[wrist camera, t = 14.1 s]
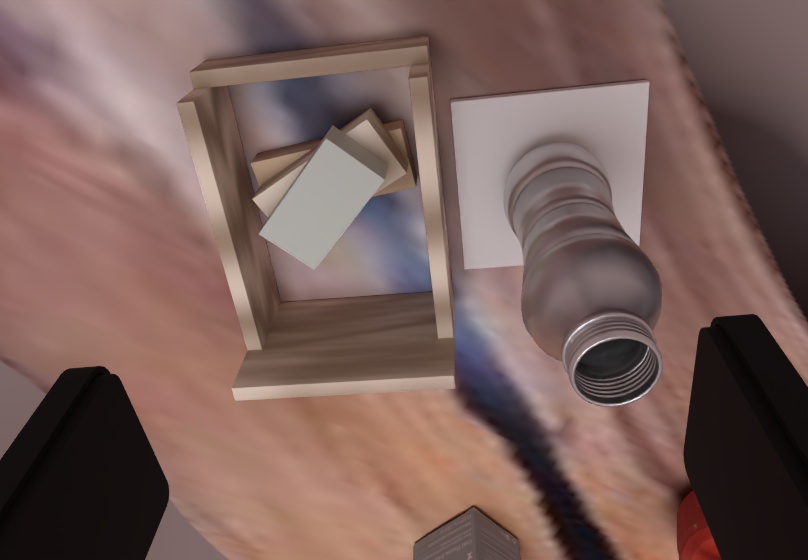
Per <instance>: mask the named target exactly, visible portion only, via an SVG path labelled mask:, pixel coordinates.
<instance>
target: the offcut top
mask: <svg viewBox="0 0 808 560" xmlns="http://www.w3.org/2000/svg"><path fill="white" fill-rule="evenodd" d="M387 168H388V164H386V163H385V162H383V161H382V160H381V159H379V158H378V157H376V156H375V155H374V154H372V153H371V152H370V151H368V150H367V149H365V148H364V147H363V146H361V145H360V144H358V143H357V142H356V141H354V140H353V139H351V138H350V137H349V136H347V135H346V134H344V133H343V132H342V131H340V130H339V129H337V128H336V127H335V126H333V125H332V127H331V128H330V130H329V131H328V132H327V134H326V135H325V137H324V138H323V140H322V141H321V142H320V144H319V145H318V147H317V148H316V150H315V151H314V152H313V154H312V155H311V157H310V158H309V160H308V161H307V162H306V164H305V165H304V167H303V168H302V170H301V171H300V172H299V174H298V175H297V177H296V178H295V180H294V181H293V182H292V184H291V185H290V187H289V188H288V190H287V191H286V192H285V194H284V195H283V197H282V198H281V200H280V201H279V202H278V204H277V205H276V207H275V208H274V209H273V211H272V212H271V214H270V215H269V217H268V218H267V220H266V222H265V224H264V225H263V227H262V229H261V231H260V233H259V235H261V236H262V237H264V238H265V239H267V240H268V241H270V242H271V243H273V244H275V245H276V246H278V247H279V248H281V249H282V250H284V251H285V252H287V253H289V254H290V255H292V256H293V257H295V258H296V259H298V260H299V261H301V262H302V263H304V264H306V265H307V266H309V267H310V268H312V269H313V270H315V269H316V267H317V266H318V265H319V264H320V262H321V261H322V260H323V258H324V257H325V256H326V255H327V253H328V252H329V251H330V249H331V248H332V247H333V246H334V244H335V243H336V242H337V240H338V239H339V238H340V237H341V235H342V234H343V233H344V231H345V230H346V229H347V228H348V226H349V225H350V224H351V222H352V221H353V220H354V219H355V217H356V216H357V215H358V214H359V212H360V211H361V210H362V208H363V207H364V206H365V205H366V203H367V202H368V201H369V199H370V198H371V197H372V196H373V194H374V193H375V192H376V190H377V189H378V188H379V187H380V185H381V184H382V183H383V181H384V180H385V177H386V172H387Z"/></svg>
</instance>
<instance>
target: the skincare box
mask: <svg viewBox="0 0 808 560" xmlns="http://www.w3.org/2000/svg"><path fill="white" fill-rule="evenodd" d="M413 560H521V557H520V548H519V541H518V540H517V539H516V538H515V537H513V536H512V535H511V534H509V533H508V532H507V531H505V530H504V529H502V528H501V527H499V526H498V525H496V524H495V523H494V522H492V521H491V520H490V519H489V518H487V517H486V516H484V515H483V514H482V513H481V512H479V511H478V510H477V509H476V508H474V507H473V508H471V509H469V510H468V511H467V512H466V513H464V514H462V515H461V516H459V517H458V518H456V519H455V520H453V521H451V522H449V523H448V524H446V525H444V526H442V527H441V528H439V529H437V530H436V531H434V532H432V533H431V534H429V535H428V536H426V537H425V538H423V539H422V540H420V541H419V542H417V543H416V544H415V545H414V554H413Z"/></svg>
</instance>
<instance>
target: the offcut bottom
mask: <svg viewBox="0 0 808 560" xmlns="http://www.w3.org/2000/svg"><path fill="white" fill-rule="evenodd" d="M383 125H384V126H385V127H386V129H387V130H388V132H389V133H390V134H391V136H392V137H393V138H394V140H395V141H396V143H397V144H398V145H399V147H400V148H401V149H402V151H403V152H404V154H405V155H406V156H407V158H408V159H409V161H408V167H407V173H406V174H405V175H403V176H402V177H400V178H399V179H397V180H395V181H394V182H392V183H391V184H389V185H388V186H386V187H385V188H383V189H382V190H380V191H378V192H377V193H375V194H374V195H373V196H378V195H383V194H387V193H392V192H396V191H401V190H406V189H410V188H415V187H416V183H417V174H416V170H415V166H414V162H413V158H412V154H411V150H410V147H409V143H408V139H407V135H406V131H405V127H404V123H403V120H398V121H393V122H389V123H385V124H383ZM322 140H323V138H321V139H316V140H312V141H308V142H304V143H299V144H295V145H291V146H287V147H282V148H278V149H274V150H270V151H265V152H261V153H258V154H257V155H256V156H255V158H254V159H253V161H252V162H251V166H252V168H253V171H254V173H255V176H256V179H257V181H258V184H259V187H260V186H261V185H262V184H263V183H264V182H266V181H267V180H269V179H270V178H272V177H273V176H274V175H276V174H277V173H279V172H280V171H282V170H283V169H284V168H286V167H287V166H289V165H290V164H291V163H293V162H294V161H296V160H297V159H299V158H300V157H301V156H303V155H304V154H306V153H307V152H309V151H310V150H311V149H313V148H314V147H316V146H317V145H318V144H320V142H321V141H322ZM373 196H372V197H373Z"/></svg>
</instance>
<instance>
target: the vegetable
mask: <svg viewBox="0 0 808 560" xmlns="http://www.w3.org/2000/svg"><path fill="white" fill-rule="evenodd" d="M677 549H678V554H679V560H722V559H721V557H720V554H719V552H718V549H717V547H716V544H715V542H714V539H713V537H712V534H711V532H710V529H709V527H708V525H707V522H706V520H705V517H704V515H703V512H702V510H701V507H700V505H699V502H698V500H697V497H696V495H695V492H694V490H693V491H691V492H690V493H689V494H688V495H687V496H686V497H685V498H684V500H683V501H682V503H681V504H680V507H679V510H678V513H677Z"/></svg>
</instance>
